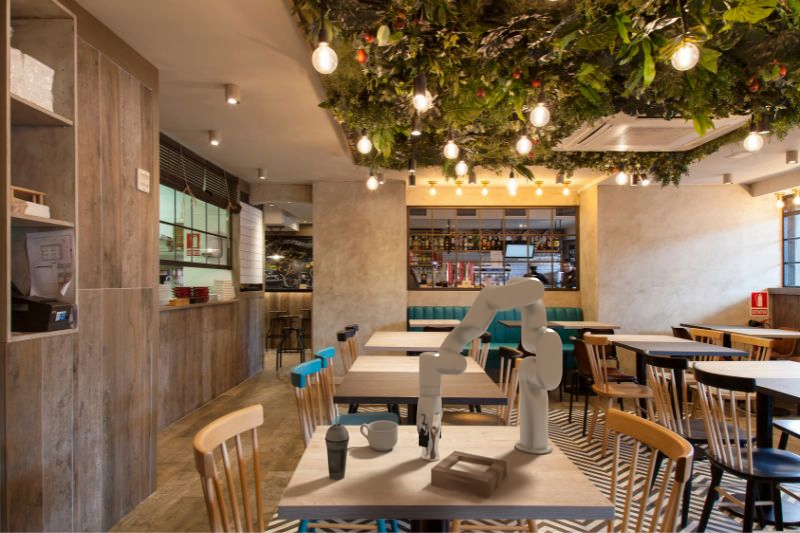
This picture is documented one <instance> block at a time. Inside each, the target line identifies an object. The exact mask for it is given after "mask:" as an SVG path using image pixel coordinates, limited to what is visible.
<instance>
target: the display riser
mask: <svg viewBox="0 0 800 533" xmlns="http://www.w3.org/2000/svg"><path fill="white" fill-rule="evenodd" d="M507 477H508V461H507V460H503V459H499V458H495V457H494V458H493V457H489V456H482V455H478V454H472V453H468V452H463V451H457V450H454V451H452V452H451V453H449V455H447V456H446V457H445V458H443V459H442V460H441V461H439V462H438V463H437V464H436V465H434V466H433V467H431V469H430V485H432V486H435V487H439V488H443V489H448V490H452V491H456V492H461V493H464V494H469V495H473V496H477V497H481V498H485V499H488V498H490V496H491V495H492V494H493V492H494V491H495V490H496V489H497V488H498V487H499V486H500V485H501V484H502V483H503V481H504V480H505V479H506V478H507Z"/></svg>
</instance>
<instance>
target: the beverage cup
mask: <svg viewBox="0 0 800 533" xmlns="http://www.w3.org/2000/svg"><path fill="white" fill-rule="evenodd" d="M334 412H335V413H334V414H335V415H334V416H335V417H334V418H335V423H334V424H332V425H331V426H330V427H329V428H328V429H327V431H326V432H325V438H324V440H325V446H326V453H327V454H326V455H327V457H326V458H327V467H328V470H327V471H328V476H329V477H328V478H329V480H332V481H341V480H343V479H345V476H346V468H347V466H346V465H347V456H348V446H349V443H350V442H349V441H350V435H349V431H348V428H346V426H344V425H342V424H341V423H338V408H334Z"/></svg>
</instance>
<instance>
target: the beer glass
mask: <svg viewBox="0 0 800 533" xmlns="http://www.w3.org/2000/svg"><path fill="white" fill-rule="evenodd" d="M441 423H442V421H441V418H440V412H439V414H436V415H434V417H433V423H432V427H430V428H429V429H428V433H427V435H428V447H427V448H425V447H421V454H420V459H421V460H422V461H426V462H435V461H439V459H440V453H439V443H440V439H439V438H440V431H441V432H442V426H441ZM423 424H424V425H427V424H426V421H425V420H424V422H423ZM423 429H424V430H425V428H423Z"/></svg>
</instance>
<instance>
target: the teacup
mask: <svg viewBox="0 0 800 533" xmlns="http://www.w3.org/2000/svg"><path fill="white" fill-rule="evenodd" d="M364 427H365V428H366V430H367V433H366V432H365V430H364ZM398 430H399V424H398V423H396V422H395V421H391V420H376V421H372V422H370V423H368V424H367V423H362V424H360V427H359V432H360V434H361V435H362V436H363V437H364V438H365V439H366V440H367V441H368V445H369V446H370V447H372V449H374V450H375V451H378V452H386V451H390V450H392V449H393V448H394V447H395V446H396V445H397V443H398V439H399V438H398V437H399V431H398Z"/></svg>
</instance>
